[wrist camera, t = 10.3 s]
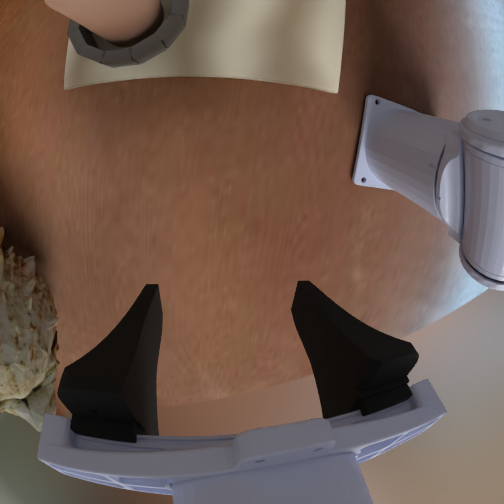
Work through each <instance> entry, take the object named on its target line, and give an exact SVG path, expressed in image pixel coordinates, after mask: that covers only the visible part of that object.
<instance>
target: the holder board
mask: <svg viewBox="0 0 504 504" xmlns="http://www.w3.org/2000/svg"><path fill="white" fill-rule="evenodd" d="M161 3H162V6H163V9H164V19H163V22H162V25H161V26H160V27H159V28H158V30H157V31H156V32H155V33H154V34H153V35H151V36H149V37H148V38H146V39H144V40H142V41H140V42H139V43H137V44H135V45H134V46H131V47H118V46H115V45H113V44H111V43H109V42H108V41H106V40H105V39H103V38H102V37H100V36H98V35H97V34H95V33H94V32H92V31H90V30H89V29H87V28H86V27H84V26H82V25H81V24H79V23H77V22H75V21H74V20H72V19H70V23H69V28H68V36H69V42H68V48H67V56H66V65H65V76H64V89H74V88H79V87H84V86H89V85H95V84H101V83H108V82H115V81H123V80H132V79H143V78H158V77H223V78H238V79H250V80H259V81H267V82H275V83H282V84H288V85H294V86H300V87H305V88H311V89H315V90H320V91H325V92H329V93H338V87H339V78H340V69H341V59H342V49H343V37H344V23H345V6H346V0H161Z"/></svg>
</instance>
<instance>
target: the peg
mask: <svg viewBox="0 0 504 504" xmlns="http://www.w3.org/2000/svg"><path fill="white" fill-rule="evenodd" d="M44 1H45V3H46V4H47V5H48V6H49V7H50V8H52V9H54V10H56V11H58V12H60V13H61V14H63V15H65V16H67V17H69V18H70V19H72V20H74V21H75V22H77V23H79V24H81V25H82V26H84V27H86V28H87V29H89V30H90V31H92V32H94V33H95V34H97V35H98V36H100V37H102V38H103V39H105V40H106V41H108V42H109V43H111V44H113V45H115V46H118V47H131V46H134V45H135V44H137V43H139V42H140V41H142V40H144V39H146V38H148V37H149V36H151V35H153V34H154V33H155V32H156V31H157V30H158V28H159V27H160V26H161V25H162V22H163V19H164V9H163V6H162V3H161V0H44Z"/></svg>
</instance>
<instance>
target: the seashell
mask: <svg viewBox="0 0 504 504" xmlns="http://www.w3.org/2000/svg"><path fill="white" fill-rule="evenodd" d="M3 237H4V228H3V226H2V227H0V413H1V412H3V411H7V412H9V413H11V414H14V415H18V416H20V417H22V418H24V419H25V420H27V421H28V422H29V423H30V424H31V425H32V426H33V427H34V428H35V429H36V430H37V431H41V430H42V425H43V420H44V416H45V413H50V414H54V415H55V413H56V397H55V386H56V378H55V377H56V373H57V367H58V365H59V364H60V362H58V361H57V359H56V352H57V351H58V350H59V346H58V344H57V330H56V325H57V323H58V322H59V321H58V317H56V315H57V312H56V311H55V306H54V298H53V297H52V295H51V293H50V291H49V289H48V287H47V285H46V283H45V282H44V279H43V277H41V276H40V275H39V274H38V273H37V272H36V270H35V266H36V265H35V256H30V257H28V258H23V257H22V256H17V255H16V254H15V253H14V247H13V246H11V247H10V248H5V247H3V246H2V242H3Z"/></svg>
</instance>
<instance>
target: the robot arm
mask: <svg viewBox="0 0 504 504" xmlns="http://www.w3.org/2000/svg"><path fill="white" fill-rule="evenodd" d="M376 100H377V102H378V103H377V104H376V103H375V101H376ZM363 177H364V180H363V181H362V182H361V179H362V178H363ZM352 181H353V182H354V183H355V184H357V185H362V186H370V187H377V188H383V189H390V190H395V191H397V192H398V193H400V194H402V195H403V196H405V197H407V198H408V199H410V200H411V201H413V202H414V203H416V204H418V205H419V206H421V207H422V208H424V209H425V210H427V211H428V212H430V213H431V214H433V215H434V216H435V217H437V218H438V219H440V220H441V221H443V222H444V223H445V224H446V225H447V226H448V229H449V235H450V236H451V237H452V238H453V239H455V240H456V241H457V242H458V243H460V246H459V256H460V260H461V263H462V265H463V267H464V269H465V270H466V271H467V273H468V274H469V275H470V276H471V277H472V278H473V279H475V280H476V281H477V282H479V283H480V284H482V285H484V286H486V287H488V288H491V289H494V290H501V291H504V111H499V110H477V111H473V112H470V113H468V114H467V115H466V117H465V118H463V119H462V120H461V121H460V122H459V123H458V122H455V121H451V120H447V119H443V118H439V117H435V116H431V115H426V114H422V113H419V112H417V111H415V110H412V109H410V108H407V107H405V106H402V105H400V104H397V103H394V102H392V101H389V100H386V99H383V98H380V97H377V96H374V95H368V96H367V97H366V101H365V108H364V115H363V121H362V128H361V134H360V140H359V145H358V151H357V156H356V162H355V167H354V172H353V177H352ZM291 311H292V315H293V319H294V323H295V326H296V329H297V331H298V334H299V336H300V338H301V341H302V343H303V346H304V348H305V350H306V353H307V355H308V357H309V360H310V363H311V366H312V370H313V373H314V377H315V380H316V384H317V389H318V393H319V398H320V403H321V407H322V414H323V418H316V419H310V420H305V421H300V422H295V423H289V424H283V425H278V426H270V427H263V428H257V429H252V430H247V431H245V432H242V433H240V434H233V435H218V436H190V437H189V436H187V437H185V436H184V437H183V436H180V437H179V436H159V432H158V419H157V397H156V373H157V363H158V356H159V349H160V342H161V335H162V320H163V313H162V307H161V300H160V293H159V286H158V284H146V285H145V287H144V288H143V290H142V291H141V293H140V295H139V296H138V298H137V299H136V301H135V302H134V304H133V305H132V306H131V308H130V309H129V311H128V312H127V313H126V315H125V316H124V317H123V319H122V320H121V321H120V322H119V324H118V325H117V326H116V327H115V328H114V329H113V330H112V331H111V333H110V334H109V335H108V336H107V337H106V338H105V339H104V340H102V341H101V342H100V343H99V344H98V345H97V346H96V347H95V348H93V349H92V350H91V351H90V352H88V353H87V354H86V355H84V356H83V357H81V358H80V359H78V360H77V361H75V362H74V363H72V364H70V365H69V366H67V367H65V369H64V371H63V374H62V377H61V380H60V384H59V388H58V392H57V394H58V397H59V399H60V400H61V402H62V403H63V404H64V405H65V406H66V408H67V409H68V410H69V411H70V412H71V413H72V420H70V419H68V418H66V417H63V416H58V415H54V414H50V413H45V416H44V420H43V425H42V430H41V436H40V442H39V448H38V456H37V458H38V459H39V460H40V461H42V462H44V463H45V464H47V465H49V466H51V467H52V468H54V469H56V470H58V471H59V472H61V473H63V474H65V475H69V476H72V477H76V478H79V479H84V480H87V481H91V482H95V483H99V484H104V485H108V486H113V487H118V488H123V489H128V490H134V491H141V492H148V493H157V494H167V495H173V503H174V504H373V501H372V498H371V496H370V493H369V490H368V488H367V485H366V482H365V480H364V477H363V475H362V472H361V469H360V467H359V463H362V462H364V461H366V460H369V459H371V458H373V457H375V456H378V455H380V454H382V453H384V452H386V451H388V450H390V449H392V448H394V447H396V446H398V445H400V444H402V443H404V442H406V441H408V440H409V439H411V438H413V437H415V436H417V435H419V434H420V433H422V432H424V431H425V430H426V429H427V428H429V427H430V426H431V425H432V424H434V423H435V422H436V421H437V420H438V419H440V418H441V417H442V416H443V415H444V414H445V413H446V412H447V410H446V409H445V407H444V405H443V403H442V402H441V400H440V399H439V397H438V395H437V393H436V392H435V390H434V388H433V387H432V385H431V383H430V382H429V380H428V379H425V380H423V381H421V382H418V383H416V384H414V385H412V386H411V387H410V388H409V386H408V385H407V383H408V382H409V379H408V377H407V375H408V373H409V372H410V371H411V370H412V368H413V367H414V366H415V364H416V363H417V361H418V358H419V354H418V353H417V351H416V350H415V348H414V347H413V345H412V344H411V343H410V342H407V341H404V340H400V339H397V338H394V337H392V336H389V335H387V334H384V333H382V332H380V331H378V330H376V329H374V328H372V327H370V326H368V325H366V324H365V323H363V322H361V321H360V320H358V319H356V318H355V317H353V316H352V315H350V314H349V313H348V312H346V311H345V310H344V309H342V308H341V307H340V306H338V305H337V304H336V303H335V302H333V301H332V300H331V299H330V298H329V297H327V296H326V295H325V294H324V293H323V292H322V291H320V290H319V289H318V288H317V287H316V286H315V285H314V284H312V283H311V282H310V281H298V283H297V287H296V292H295V296H294V300H293V304H292V308H291Z"/></svg>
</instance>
